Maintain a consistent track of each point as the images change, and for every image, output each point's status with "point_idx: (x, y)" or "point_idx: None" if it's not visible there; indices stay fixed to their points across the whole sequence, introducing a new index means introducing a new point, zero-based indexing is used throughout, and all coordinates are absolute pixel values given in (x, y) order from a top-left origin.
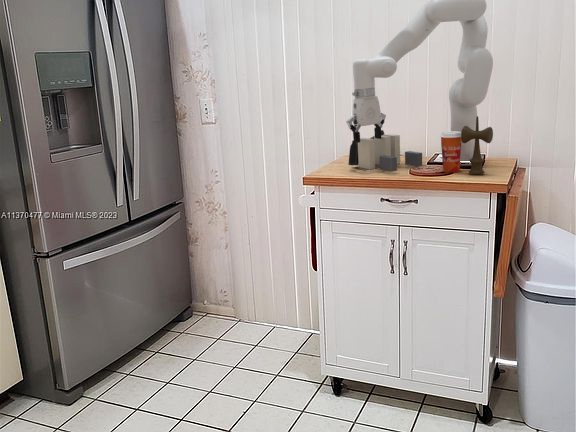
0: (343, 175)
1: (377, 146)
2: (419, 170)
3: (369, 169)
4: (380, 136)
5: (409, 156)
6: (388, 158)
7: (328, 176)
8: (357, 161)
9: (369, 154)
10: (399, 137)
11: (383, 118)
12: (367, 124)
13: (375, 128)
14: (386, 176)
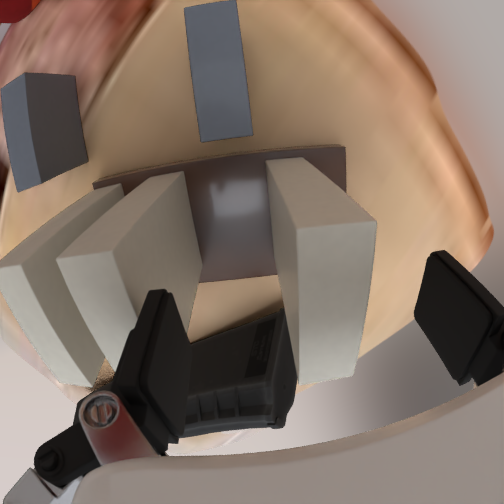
0: (416, 192)
1: (177, 303)
2: (77, 57)
3: (304, 158)
4: (155, 300)
5: (47, 136)
6: (239, 32)
7: (453, 219)
8: (270, 322)
9: (325, 177)
10: (2, 258)
11: (37, 493)
12: (496, 389)
13: (176, 425)
14: (286, 17)
